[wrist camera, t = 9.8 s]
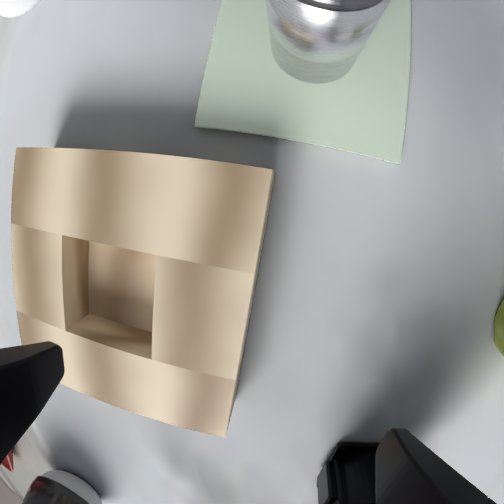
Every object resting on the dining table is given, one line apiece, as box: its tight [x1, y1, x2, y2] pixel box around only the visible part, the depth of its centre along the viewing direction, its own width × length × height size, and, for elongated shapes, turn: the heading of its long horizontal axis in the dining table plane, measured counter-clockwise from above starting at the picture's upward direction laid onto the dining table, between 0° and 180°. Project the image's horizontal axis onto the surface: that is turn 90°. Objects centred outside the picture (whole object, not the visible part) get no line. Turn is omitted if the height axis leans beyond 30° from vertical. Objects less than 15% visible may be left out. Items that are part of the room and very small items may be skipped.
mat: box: [194, 0, 411, 164], centre depth 16 cm, size 12×12×1 cm
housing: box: [11, 148, 275, 438], centre depth 18 cm, size 16×16×4 cm
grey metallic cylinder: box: [265, 0, 391, 84], centre depth 11 cm, size 5×5×8 cm
